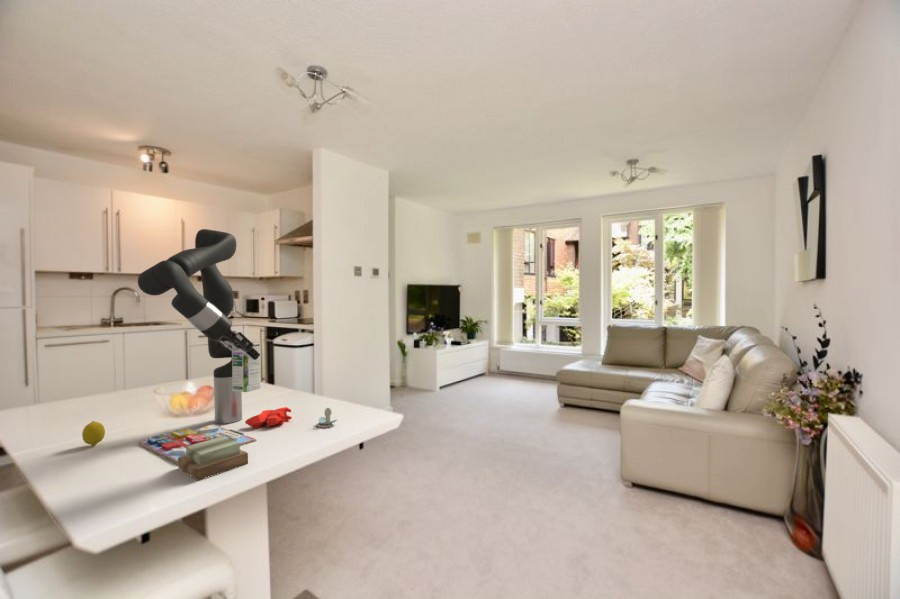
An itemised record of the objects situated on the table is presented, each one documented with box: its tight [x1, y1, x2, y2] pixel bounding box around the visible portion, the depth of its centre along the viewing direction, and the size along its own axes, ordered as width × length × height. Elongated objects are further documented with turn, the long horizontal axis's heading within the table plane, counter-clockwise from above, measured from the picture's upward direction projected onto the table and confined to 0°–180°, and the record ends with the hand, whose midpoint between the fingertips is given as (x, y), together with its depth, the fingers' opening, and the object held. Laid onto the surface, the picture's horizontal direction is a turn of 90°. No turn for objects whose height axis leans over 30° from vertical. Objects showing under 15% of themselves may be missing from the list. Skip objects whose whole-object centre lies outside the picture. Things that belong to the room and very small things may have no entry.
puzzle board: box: [138, 423, 257, 465], centre depth 135 cm, size 30×23×3 cm
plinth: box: [177, 436, 249, 481], centre depth 116 cm, size 13×13×6 cm
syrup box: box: [231, 341, 261, 393], centre depth 125 cm, size 6×6×14 cm
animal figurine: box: [244, 406, 293, 429], centre depth 151 cm, size 12×15×5 cm
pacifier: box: [316, 407, 338, 429], centre depth 150 cm, size 7×6×6 cm
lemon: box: [82, 420, 106, 447], centre depth 133 cm, size 6×6×8 cm
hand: (251, 356), depth 126 cm, fingers closed on syrup box, 7 cm apart
